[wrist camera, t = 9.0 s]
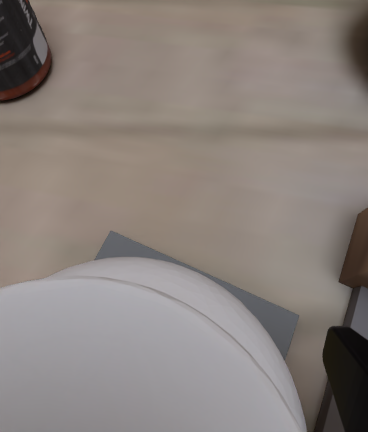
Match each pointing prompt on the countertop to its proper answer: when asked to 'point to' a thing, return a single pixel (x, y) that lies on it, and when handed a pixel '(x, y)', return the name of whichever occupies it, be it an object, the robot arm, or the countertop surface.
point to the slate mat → (263, 310)
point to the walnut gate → (350, 311)
